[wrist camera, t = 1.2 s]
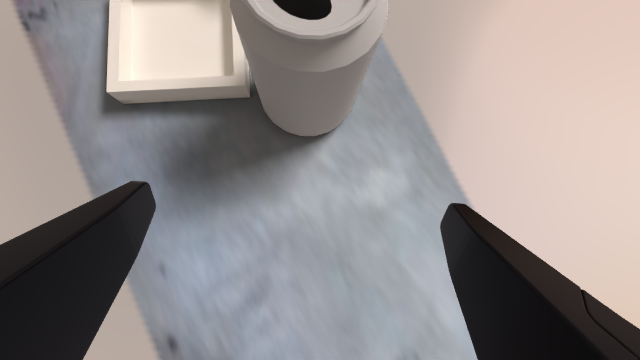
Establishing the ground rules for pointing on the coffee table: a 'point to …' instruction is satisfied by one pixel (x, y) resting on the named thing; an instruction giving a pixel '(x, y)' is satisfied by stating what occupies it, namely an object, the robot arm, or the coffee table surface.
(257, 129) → the coffee table surface
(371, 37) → the can
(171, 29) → the tray
